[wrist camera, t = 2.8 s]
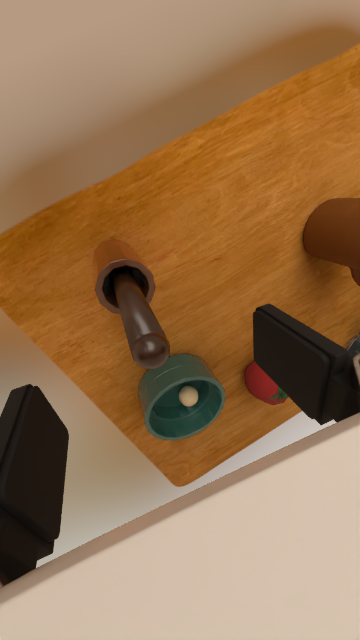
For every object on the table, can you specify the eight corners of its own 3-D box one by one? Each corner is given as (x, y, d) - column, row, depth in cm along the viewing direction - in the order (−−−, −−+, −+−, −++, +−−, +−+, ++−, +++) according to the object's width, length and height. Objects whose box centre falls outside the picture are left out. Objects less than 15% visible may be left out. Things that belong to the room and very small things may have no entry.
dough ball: (177, 398, 38) (184, 413, 35) (174, 385, 36) (180, 400, 34) (195, 392, 38) (202, 405, 36) (192, 379, 37) (200, 392, 34)
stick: (110, 271, 25) (140, 383, 10) (104, 255, 24) (129, 352, 10) (126, 267, 26) (178, 369, 11) (121, 251, 25) (171, 337, 10)
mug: (348, 263, 37) (418, 281, 29) (309, 289, 37) (369, 315, 29) (344, 185, 30) (432, 183, 23) (296, 217, 30) (368, 226, 22)
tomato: (262, 386, 44) (289, 416, 38) (230, 381, 41) (254, 414, 35) (285, 352, 42) (317, 378, 36) (253, 343, 38) (284, 371, 32)
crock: (101, 284, 26) (107, 321, 19) (87, 245, 24) (86, 268, 16) (140, 274, 27) (159, 305, 19) (129, 234, 25) (147, 252, 17)
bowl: (147, 420, 38) (155, 451, 34) (128, 369, 32) (134, 397, 28) (212, 394, 41) (227, 420, 36) (204, 341, 35) (222, 364, 30)
